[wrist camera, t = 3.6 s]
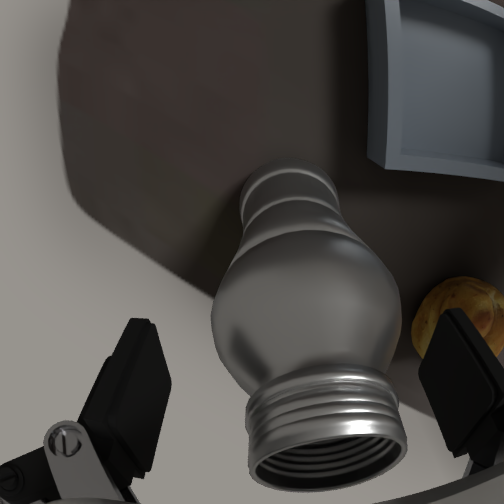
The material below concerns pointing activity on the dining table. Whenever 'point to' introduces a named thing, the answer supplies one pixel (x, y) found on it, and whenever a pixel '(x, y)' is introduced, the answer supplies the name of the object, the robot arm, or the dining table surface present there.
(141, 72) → the dining table surface
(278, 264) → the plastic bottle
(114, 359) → the robot arm
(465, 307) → the bread roll
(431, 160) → the tray
